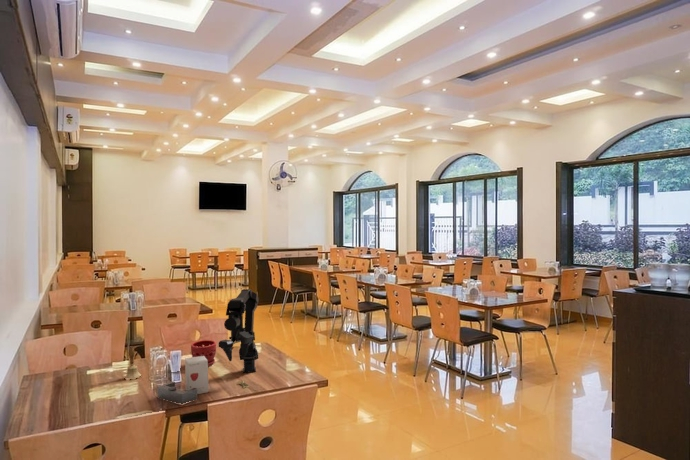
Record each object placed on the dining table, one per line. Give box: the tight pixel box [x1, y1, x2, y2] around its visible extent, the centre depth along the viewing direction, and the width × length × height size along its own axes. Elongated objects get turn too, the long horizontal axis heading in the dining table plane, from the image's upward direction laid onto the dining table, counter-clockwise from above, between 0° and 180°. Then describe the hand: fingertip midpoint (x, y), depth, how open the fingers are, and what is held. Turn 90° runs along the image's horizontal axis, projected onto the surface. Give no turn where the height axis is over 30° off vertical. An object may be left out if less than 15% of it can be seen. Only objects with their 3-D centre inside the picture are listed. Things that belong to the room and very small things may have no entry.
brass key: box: [237, 380, 249, 389], centre depth 225 cm, size 8×3×1 cm, turn 37°
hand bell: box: [124, 345, 142, 378], centre depth 240 cm, size 8×8×16 cm
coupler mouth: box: [157, 381, 198, 404], centre depth 210 cm, size 8×17×6 cm, turn 56°
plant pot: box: [190, 339, 217, 367], centre depth 258 cm, size 13×13×12 cm
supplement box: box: [184, 356, 210, 395], centre depth 218 cm, size 9×9×15 cm
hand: (237, 358), depth 225 cm, fingers open, 9 cm apart
